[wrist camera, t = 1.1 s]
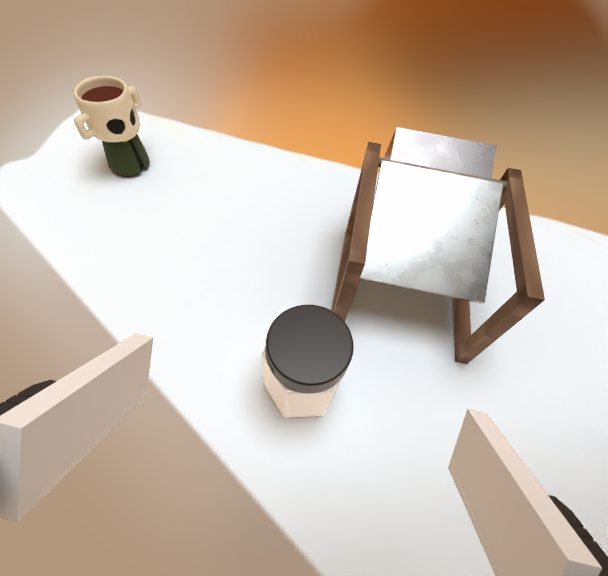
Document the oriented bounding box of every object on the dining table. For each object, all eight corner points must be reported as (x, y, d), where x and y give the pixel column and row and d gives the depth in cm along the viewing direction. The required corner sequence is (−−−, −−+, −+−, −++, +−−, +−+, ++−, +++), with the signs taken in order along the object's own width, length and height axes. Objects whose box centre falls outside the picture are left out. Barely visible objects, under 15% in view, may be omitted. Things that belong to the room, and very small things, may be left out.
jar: (288, 338, 47) (293, 287, 37) (347, 367, 46) (368, 322, 36) (252, 400, 43) (245, 362, 33) (315, 435, 41) (329, 406, 31)
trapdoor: (478, 171, 51) (509, 142, 43) (456, 307, 49) (484, 302, 41) (378, 153, 52) (390, 121, 44) (352, 286, 50) (359, 277, 42)
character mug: (121, 193, 59) (86, 117, 48) (89, 175, 60) (48, 97, 49) (170, 157, 64) (149, 80, 53) (139, 141, 65) (112, 63, 55)
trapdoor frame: (461, 254, 57) (520, 170, 43) (466, 363, 47) (544, 299, 34) (345, 231, 58) (368, 141, 44) (327, 334, 48) (349, 260, 35)
